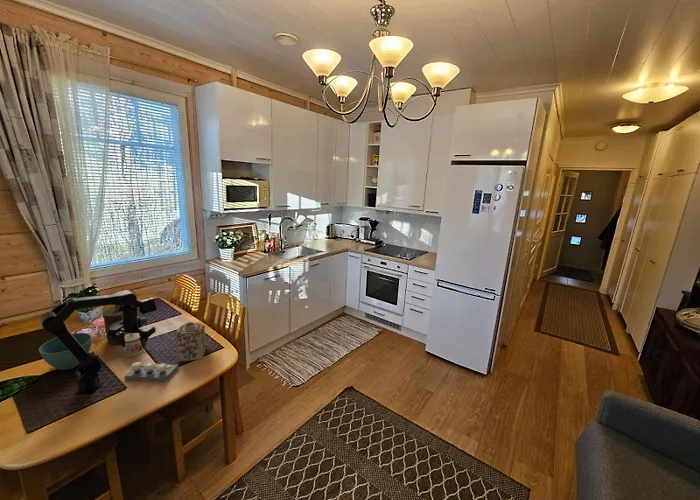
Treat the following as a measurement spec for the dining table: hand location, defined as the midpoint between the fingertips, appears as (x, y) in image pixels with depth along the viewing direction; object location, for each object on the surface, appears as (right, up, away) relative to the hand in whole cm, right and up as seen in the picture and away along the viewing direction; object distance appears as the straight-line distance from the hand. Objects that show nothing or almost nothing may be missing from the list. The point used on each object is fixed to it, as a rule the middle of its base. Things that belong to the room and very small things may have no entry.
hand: (134, 347), depth 141 cm
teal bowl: (-34, -10, +5) cm, 36 cm away
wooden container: (-27, -5, +29) cm, 39 cm away
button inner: (+2, -11, -1) cm, 11 cm away
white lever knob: (+14, -11, -1) cm, 18 cm away
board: (+8, -13, +1) cm, 15 cm away
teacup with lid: (-11, -8, +18) cm, 22 cm away
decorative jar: (+19, -10, +17) cm, 27 cm away
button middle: (+8, -11, -1) cm, 14 cm away
